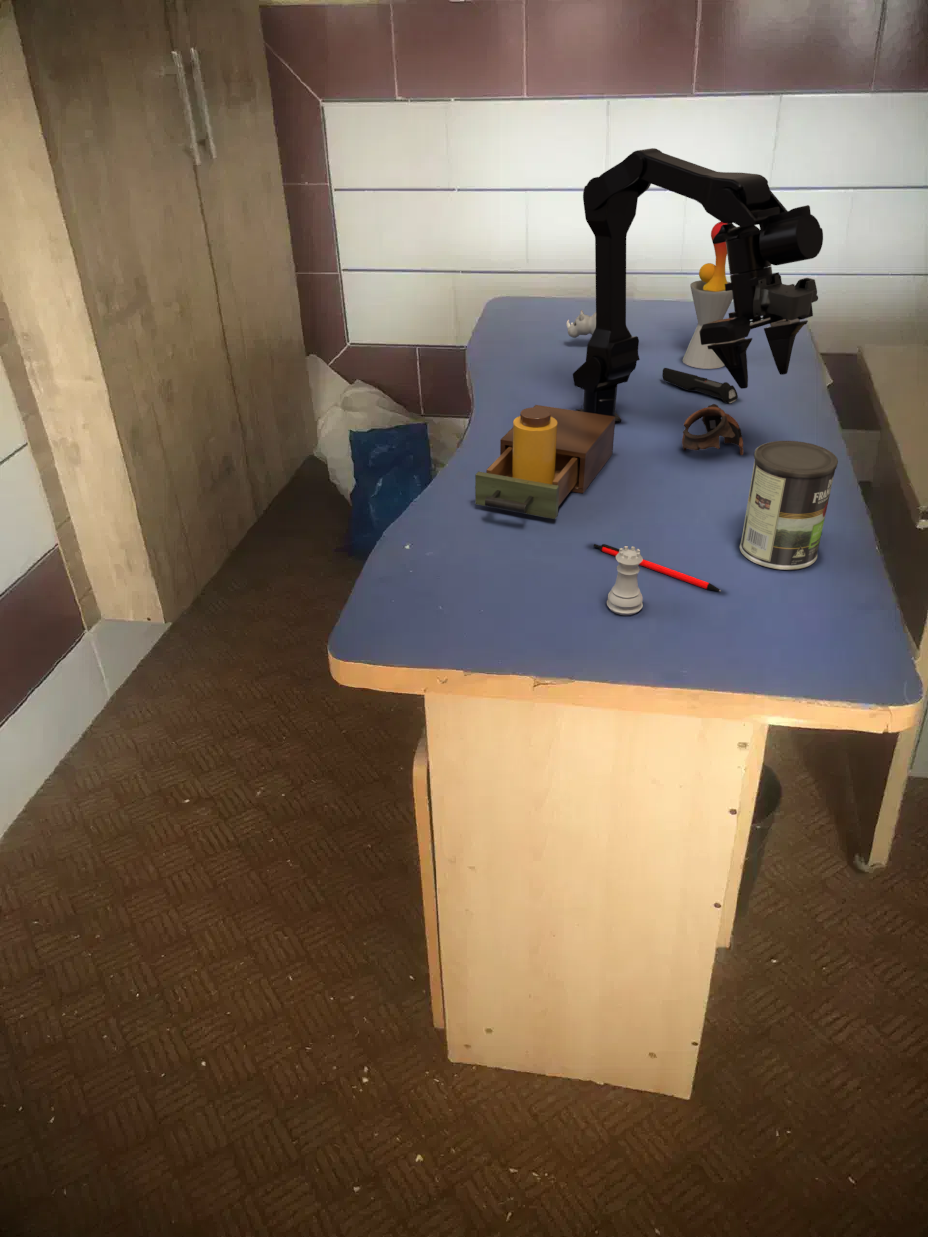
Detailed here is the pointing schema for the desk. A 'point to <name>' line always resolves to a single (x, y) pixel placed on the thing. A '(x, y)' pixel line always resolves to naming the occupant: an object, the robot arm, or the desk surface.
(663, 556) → the desk surface
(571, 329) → the round bodied animal figurine
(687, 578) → the pen
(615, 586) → the rook chess piece
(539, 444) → the bottle
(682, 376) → the black flashlight
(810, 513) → the coffee can
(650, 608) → the desk surface
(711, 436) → the pottery mug
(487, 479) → the drawer
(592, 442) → the cabinet
